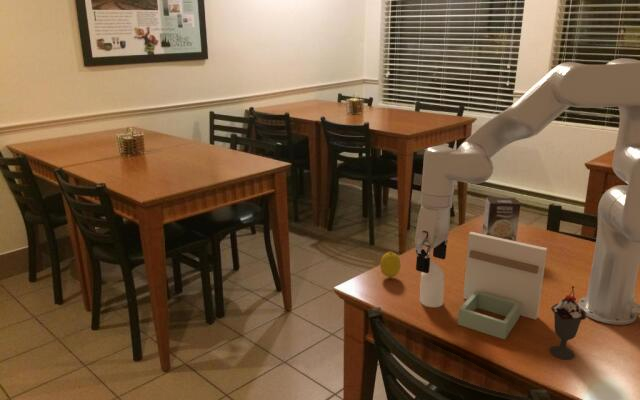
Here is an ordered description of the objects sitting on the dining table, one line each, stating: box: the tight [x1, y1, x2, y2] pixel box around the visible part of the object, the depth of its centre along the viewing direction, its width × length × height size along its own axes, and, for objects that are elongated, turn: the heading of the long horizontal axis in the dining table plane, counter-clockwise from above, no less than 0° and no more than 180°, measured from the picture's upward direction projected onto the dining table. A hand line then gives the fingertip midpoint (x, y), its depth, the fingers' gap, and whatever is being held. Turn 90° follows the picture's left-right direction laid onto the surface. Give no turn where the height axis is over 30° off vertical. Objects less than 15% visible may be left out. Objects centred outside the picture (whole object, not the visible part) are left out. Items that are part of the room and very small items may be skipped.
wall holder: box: [457, 231, 548, 340], centre depth 122 cm, size 18×14×18 cm
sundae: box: [549, 285, 587, 361], centre depth 109 cm, size 7×7×15 cm
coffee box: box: [481, 196, 521, 242], centre depth 161 cm, size 9×6×16 cm
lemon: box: [379, 250, 401, 279], centre depth 144 cm, size 6×6×8 cm
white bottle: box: [419, 259, 445, 308], centre depth 131 cm, size 6×12×6 cm
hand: (430, 264), depth 129 cm, fingers open, 9 cm apart
